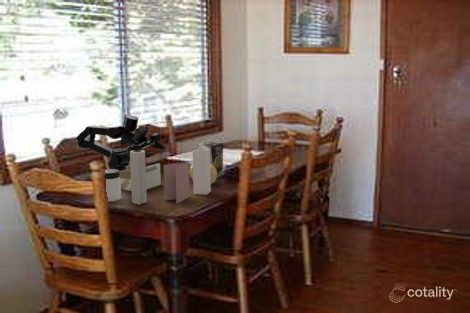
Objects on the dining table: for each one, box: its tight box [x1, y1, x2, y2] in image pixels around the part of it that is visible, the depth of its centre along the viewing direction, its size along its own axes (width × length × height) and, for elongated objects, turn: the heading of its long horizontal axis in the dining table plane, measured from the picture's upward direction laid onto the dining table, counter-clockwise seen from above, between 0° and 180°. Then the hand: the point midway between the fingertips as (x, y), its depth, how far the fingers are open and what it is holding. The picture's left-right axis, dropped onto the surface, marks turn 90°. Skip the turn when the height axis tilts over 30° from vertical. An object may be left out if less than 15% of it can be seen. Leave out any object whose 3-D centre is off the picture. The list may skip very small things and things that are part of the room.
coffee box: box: [203, 142, 224, 178], centre depth 287 cm, size 9×6×16 cm
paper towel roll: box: [129, 149, 148, 206], centre depth 239 cm, size 7×6×21 cm
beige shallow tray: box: [119, 167, 132, 192], centre depth 268 cm, size 14×16×7 cm
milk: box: [192, 141, 212, 196], centre depth 254 cm, size 6×6×22 cm
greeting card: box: [163, 161, 190, 204], centre depth 243 cm, size 11×7×15 cm, turn 123°
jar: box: [104, 168, 122, 202], centre depth 246 cm, size 9×8×12 cm
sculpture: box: [189, 163, 218, 185], centre depth 271 cm, size 12×12×11 cm
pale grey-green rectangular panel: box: [145, 162, 162, 190], centre depth 264 cm, size 1×15×10 cm, turn 150°
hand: (157, 152), depth 267 cm, fingers open, 9 cm apart
